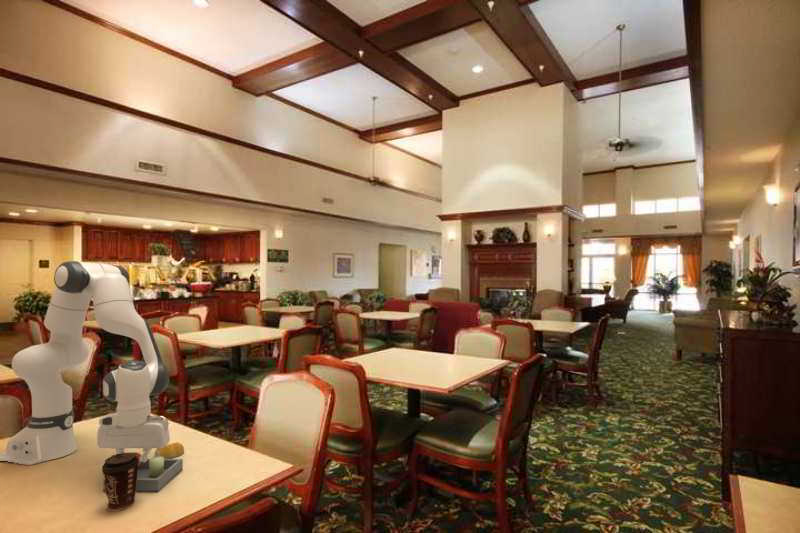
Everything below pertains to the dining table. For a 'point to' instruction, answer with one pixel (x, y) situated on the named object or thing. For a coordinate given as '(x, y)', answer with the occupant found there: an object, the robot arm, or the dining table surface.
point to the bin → (156, 484)
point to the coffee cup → (120, 480)
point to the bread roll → (170, 450)
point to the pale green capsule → (156, 467)
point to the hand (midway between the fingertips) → (133, 461)
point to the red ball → (138, 457)
